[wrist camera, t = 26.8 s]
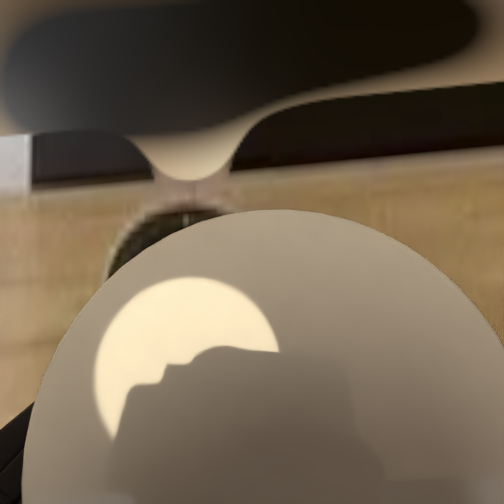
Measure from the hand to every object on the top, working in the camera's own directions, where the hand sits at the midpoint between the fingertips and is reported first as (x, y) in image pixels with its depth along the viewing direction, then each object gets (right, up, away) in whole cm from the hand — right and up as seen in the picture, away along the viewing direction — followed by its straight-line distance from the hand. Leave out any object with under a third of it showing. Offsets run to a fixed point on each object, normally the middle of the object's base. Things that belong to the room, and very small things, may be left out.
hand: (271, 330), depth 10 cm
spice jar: (0, -2, +5) cm, 5 cm away
